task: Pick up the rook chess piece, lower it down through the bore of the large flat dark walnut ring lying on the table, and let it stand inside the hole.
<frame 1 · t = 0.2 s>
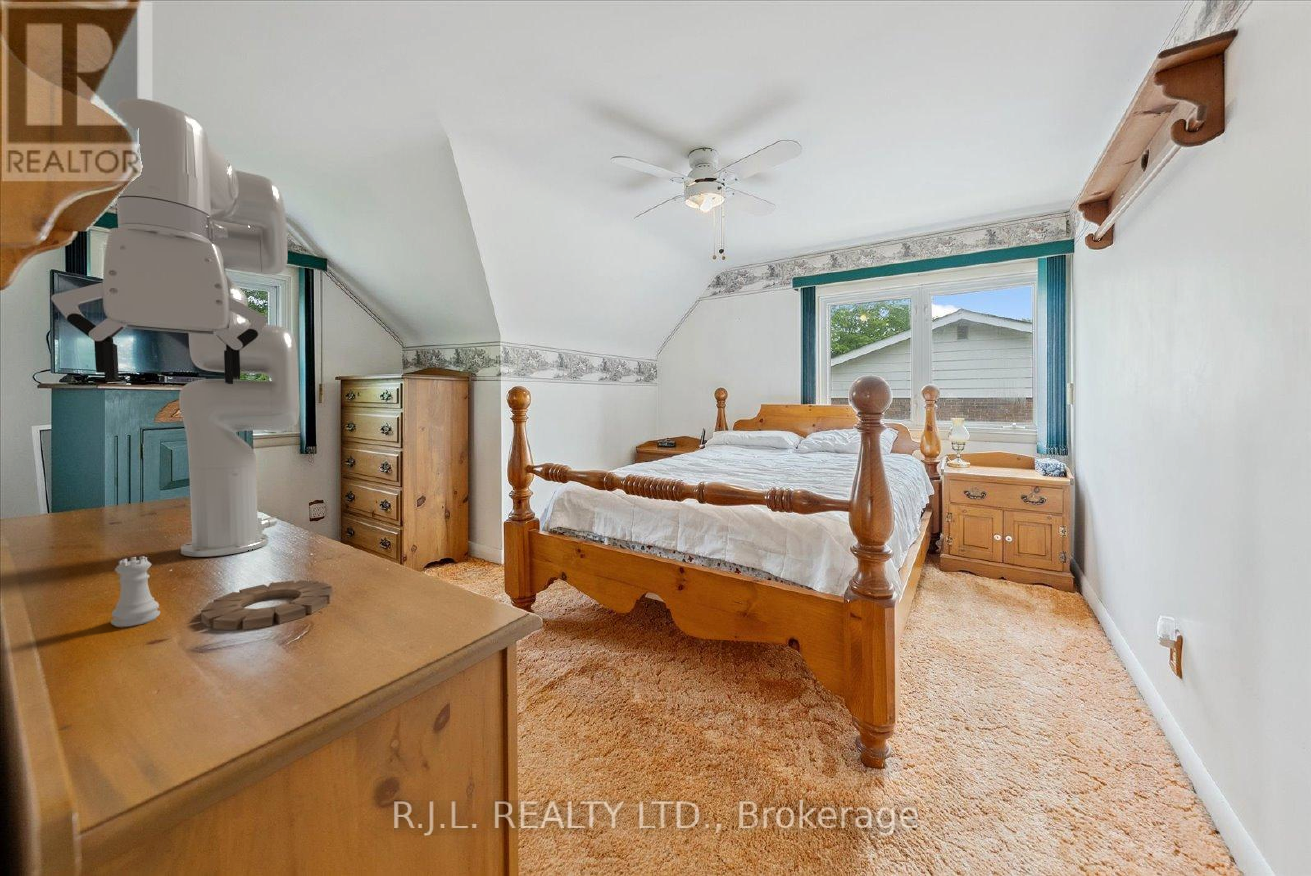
hand: (173, 382, 57), 30 cm above the dresser, tool pointing down, fingers open, 9 cm apart
rook chess piece: (136, 622, 65), on the dresser
walnut ring: (271, 606, 70), on the dresser
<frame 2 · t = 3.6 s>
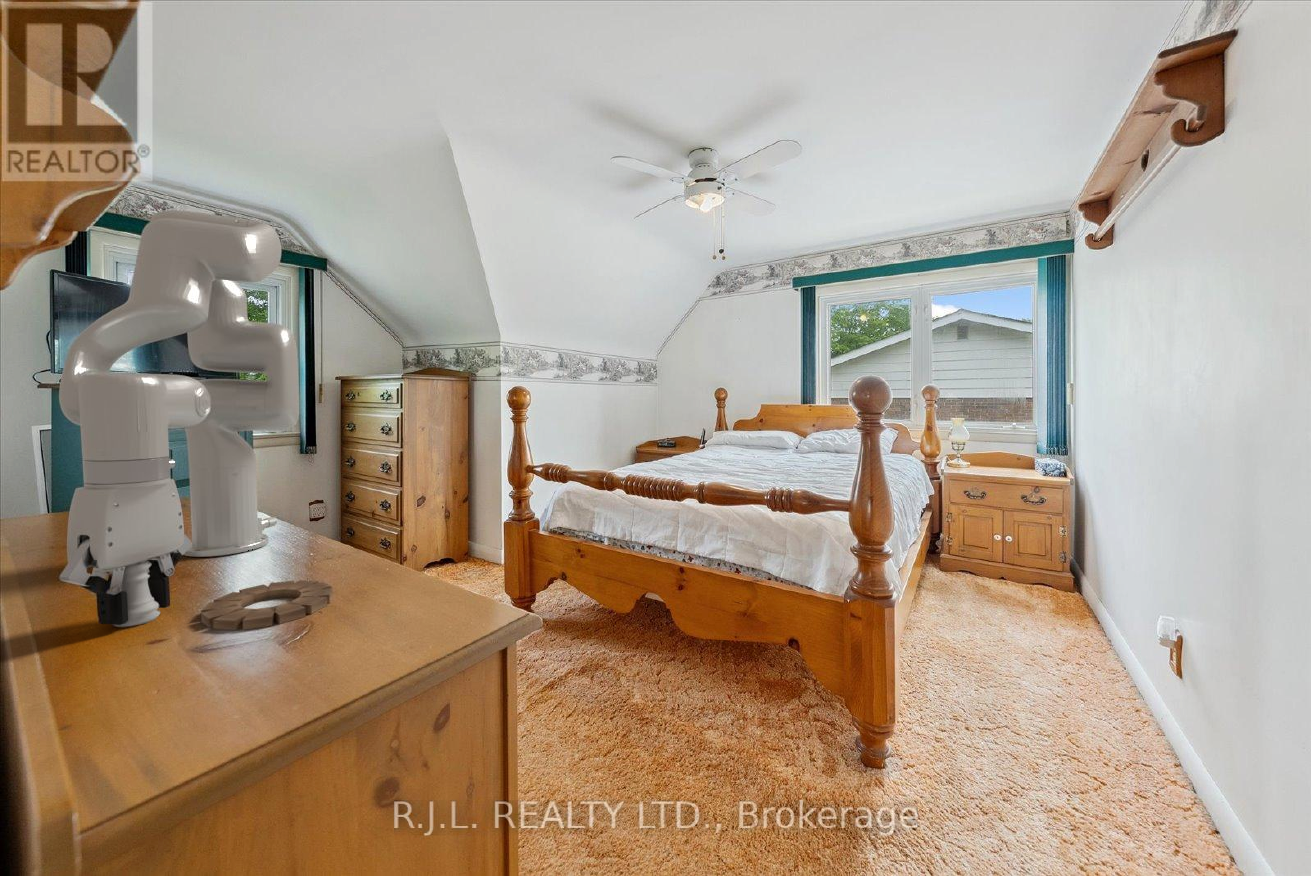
hand: (135, 613, 65), 1 cm above the dresser, tool pointing down, fingers closed on rook chess piece, 4 cm apart
rook chess piece: (136, 622, 65), on the dresser, touching gripper
everything else where it was.
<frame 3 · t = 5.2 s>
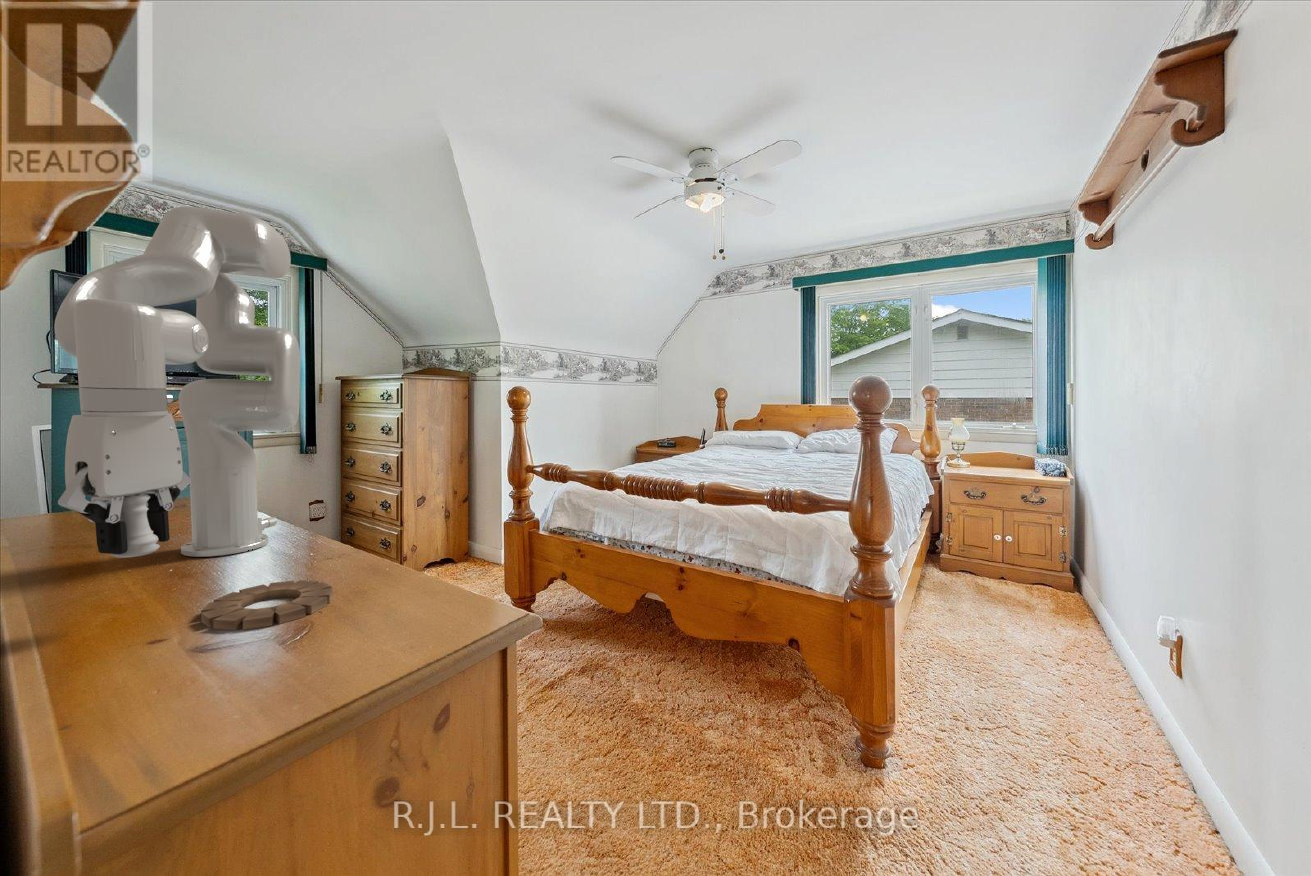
hand: (135, 545, 65), 10 cm above the dresser, tool pointing down, fingers closed on rook chess piece, 4 cm apart
rook chess piece: (136, 554, 65), point 8 cm above the dresser, touching gripper
everything else where it was.
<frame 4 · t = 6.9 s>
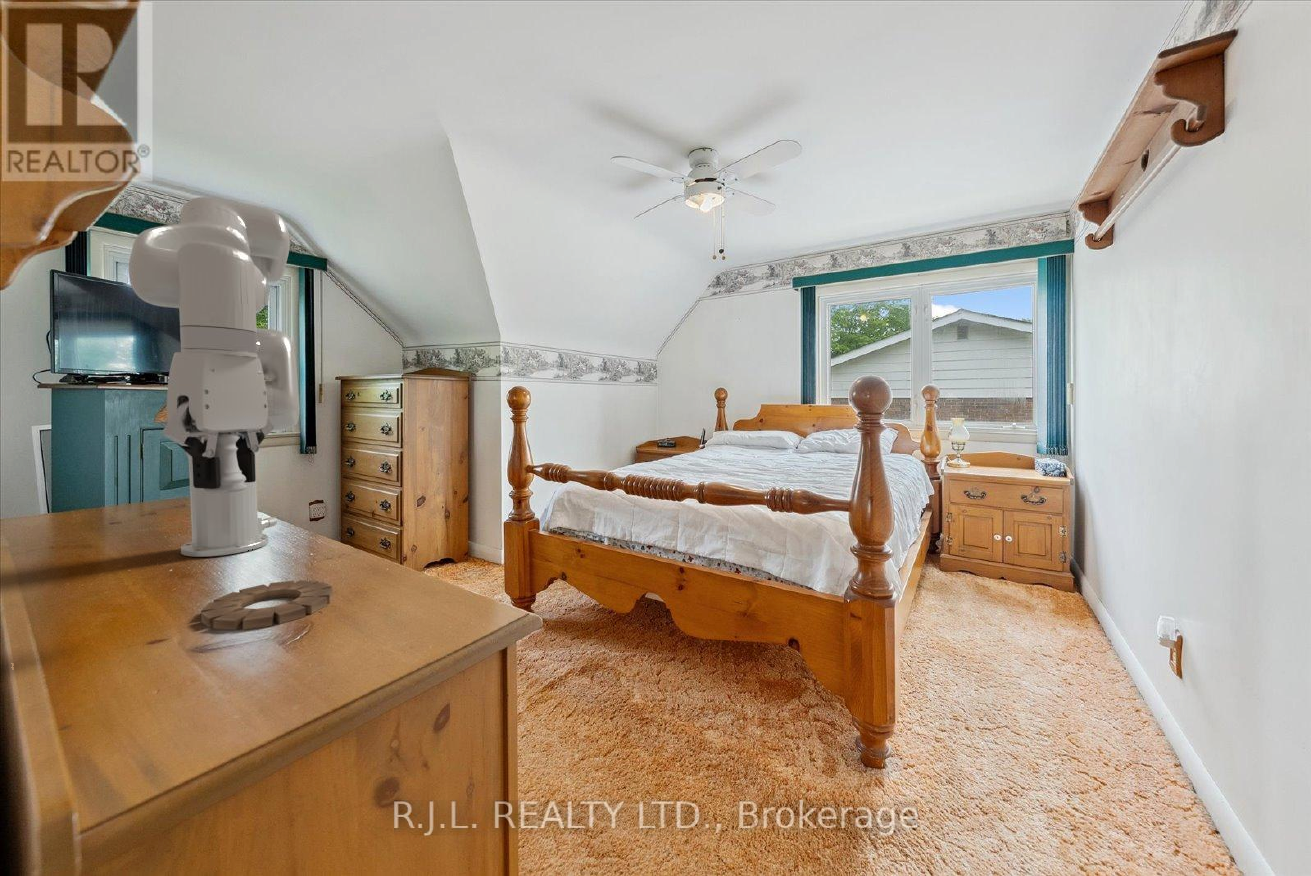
hand: (225, 483, 67), 17 cm above the dresser, tool pointing down, fingers closed on rook chess piece, 4 cm apart
rook chess piece: (225, 492, 67), point 16 cm above the dresser, touching gripper
everything else where it was.
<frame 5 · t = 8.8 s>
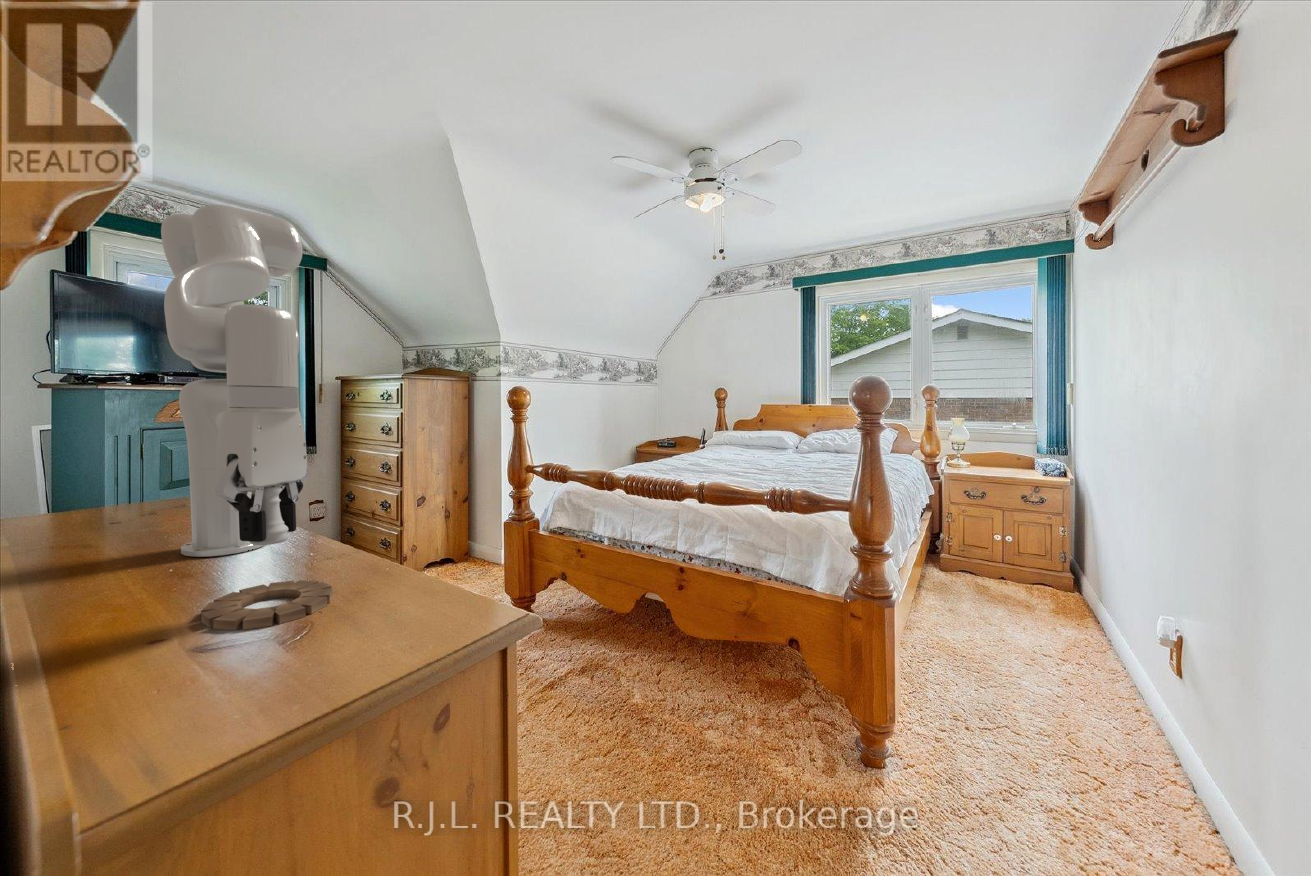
hand: (269, 534, 69), 10 cm above the dresser, tool pointing down, fingers closed on rook chess piece, 4 cm apart
rook chess piece: (269, 542, 69), point 9 cm above the dresser, touching gripper
everything else where it was.
when the fingers open (2 cm above the dresser, at t = 10.6 s): rook chess piece drops 1 cm, on the dresser.
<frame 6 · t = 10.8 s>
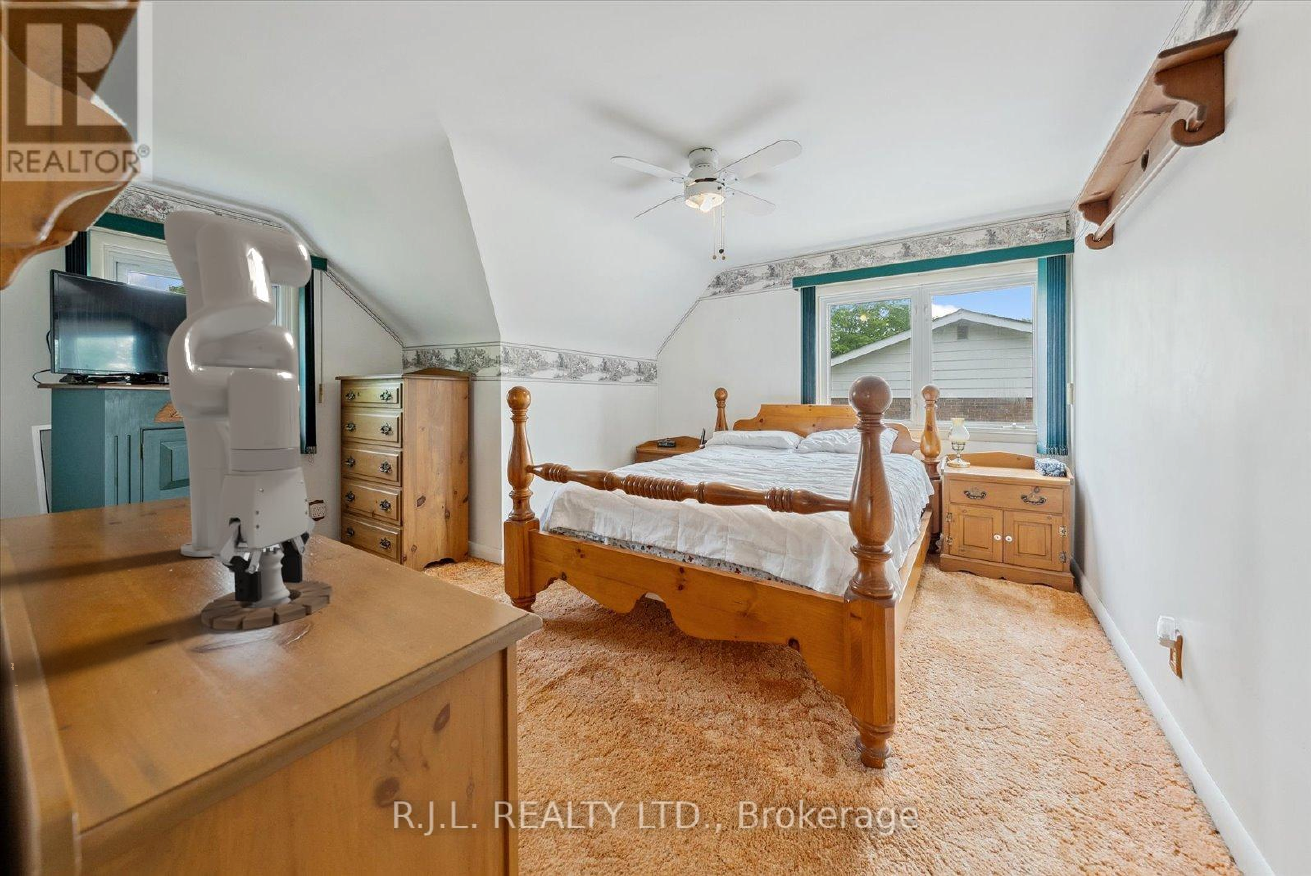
hand: (270, 589, 70), 2 cm above the dresser, tool pointing down, fingers open, 6 cm apart
rook chess piece: (271, 608, 70), on the dresser
everything else where it was.
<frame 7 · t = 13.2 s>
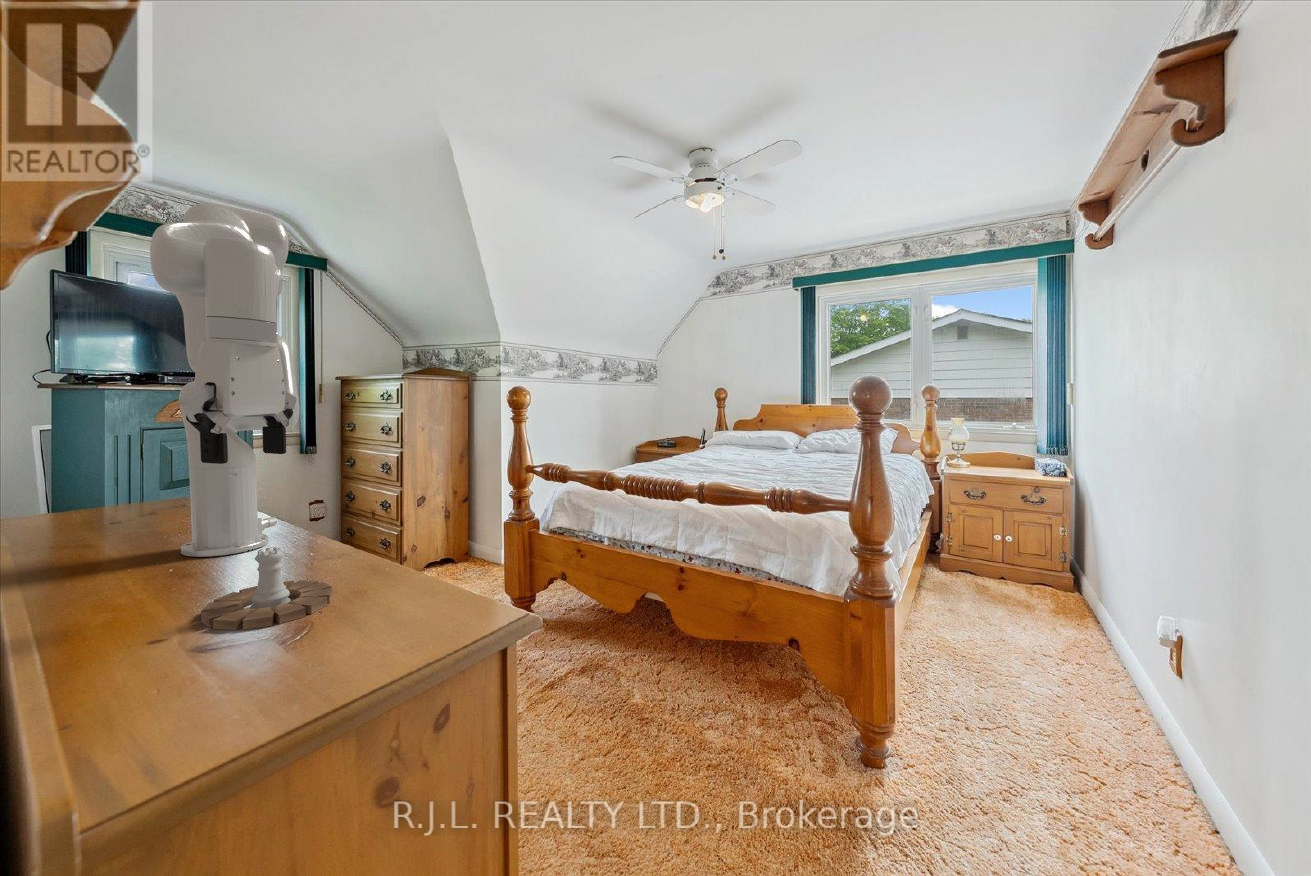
hand: (246, 457, 71), 20 cm above the dresser, tool pointing down, fingers open, 9 cm apart
nothing on the dresser moved.
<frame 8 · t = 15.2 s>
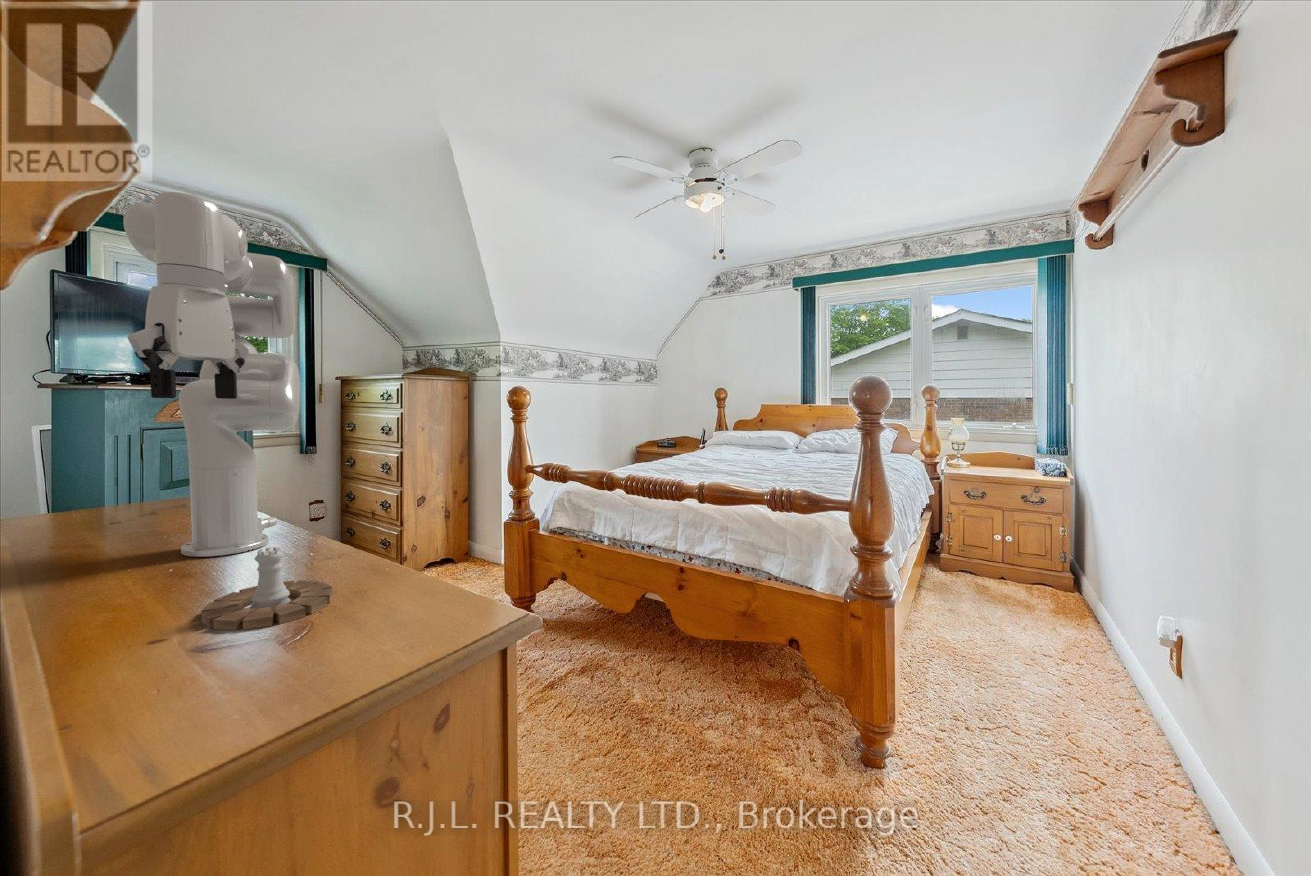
hand: (197, 398, 77), 28 cm above the dresser, tool pointing down, fingers open, 9 cm apart
nothing on the dresser moved.
at the end: rook chess piece 0.2 cm from the walnut ring (horizontally); rook chess piece tilted 0°; the gripper is holding nothing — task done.
